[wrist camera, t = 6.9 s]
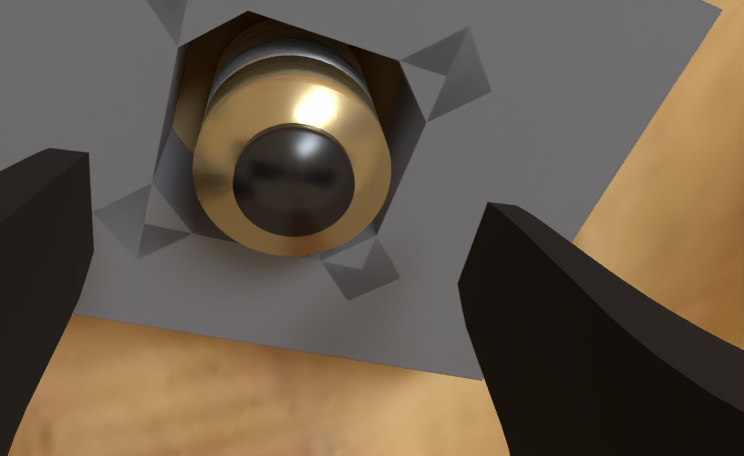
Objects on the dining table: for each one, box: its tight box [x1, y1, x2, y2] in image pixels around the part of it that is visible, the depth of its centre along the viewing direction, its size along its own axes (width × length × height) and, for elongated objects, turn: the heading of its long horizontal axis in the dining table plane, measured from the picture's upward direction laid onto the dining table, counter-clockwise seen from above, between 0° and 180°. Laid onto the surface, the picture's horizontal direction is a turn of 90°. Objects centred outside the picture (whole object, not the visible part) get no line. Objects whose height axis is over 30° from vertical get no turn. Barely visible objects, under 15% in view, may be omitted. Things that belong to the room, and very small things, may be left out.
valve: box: [193, 19, 391, 256], centre depth 14 cm, size 4×4×5 cm
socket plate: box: [0, 0, 722, 381], centre depth 15 cm, size 16×12×3 cm
